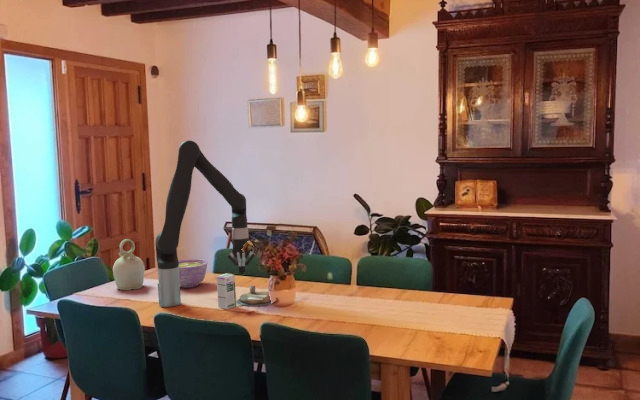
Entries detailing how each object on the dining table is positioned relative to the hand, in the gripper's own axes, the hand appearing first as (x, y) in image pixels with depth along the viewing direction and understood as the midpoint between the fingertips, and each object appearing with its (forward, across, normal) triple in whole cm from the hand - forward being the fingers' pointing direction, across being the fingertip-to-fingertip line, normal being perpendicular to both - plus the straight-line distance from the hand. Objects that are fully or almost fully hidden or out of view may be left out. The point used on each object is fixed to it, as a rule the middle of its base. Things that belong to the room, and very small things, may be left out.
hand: (242, 273), depth 279 cm
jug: (+11, -60, +29) cm, 68 cm away
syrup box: (+12, -6, -14) cm, 19 cm away
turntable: (+12, +7, -6) cm, 15 cm away
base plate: (+12, +7, -6) cm, 15 cm away
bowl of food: (+12, -30, +28) cm, 43 cm away
